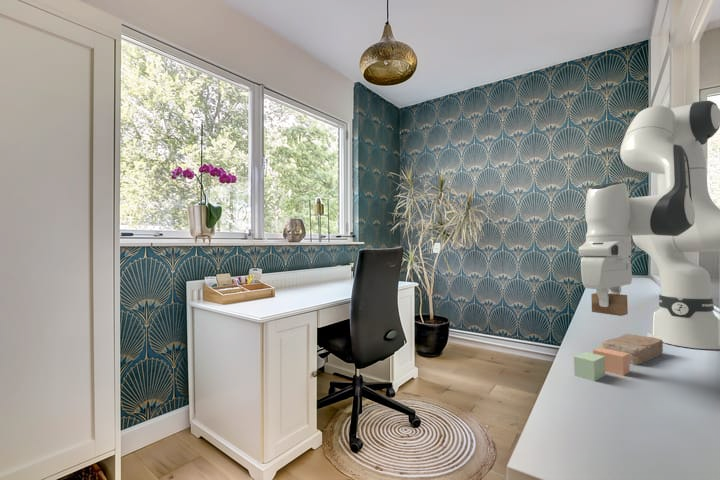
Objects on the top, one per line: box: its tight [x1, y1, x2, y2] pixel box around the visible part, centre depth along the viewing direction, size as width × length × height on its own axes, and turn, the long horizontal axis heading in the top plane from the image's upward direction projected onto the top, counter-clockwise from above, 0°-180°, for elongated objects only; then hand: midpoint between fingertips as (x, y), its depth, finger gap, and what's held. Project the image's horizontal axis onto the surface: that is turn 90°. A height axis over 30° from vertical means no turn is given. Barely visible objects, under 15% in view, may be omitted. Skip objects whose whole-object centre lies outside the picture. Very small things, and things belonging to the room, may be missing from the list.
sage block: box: [573, 351, 606, 382], centre depth 77 cm, size 6×4×4 cm, turn 124°
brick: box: [601, 333, 664, 366], centre depth 90 cm, size 17×8×5 cm, turn 120°
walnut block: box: [590, 292, 629, 317], centre depth 80 cm, size 6×4×4 cm, turn 35°
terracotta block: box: [592, 346, 630, 377], centre depth 80 cm, size 6×4×4 cm, turn 34°
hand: (609, 305), depth 80 cm, fingers closed on walnut block, 4 cm apart
